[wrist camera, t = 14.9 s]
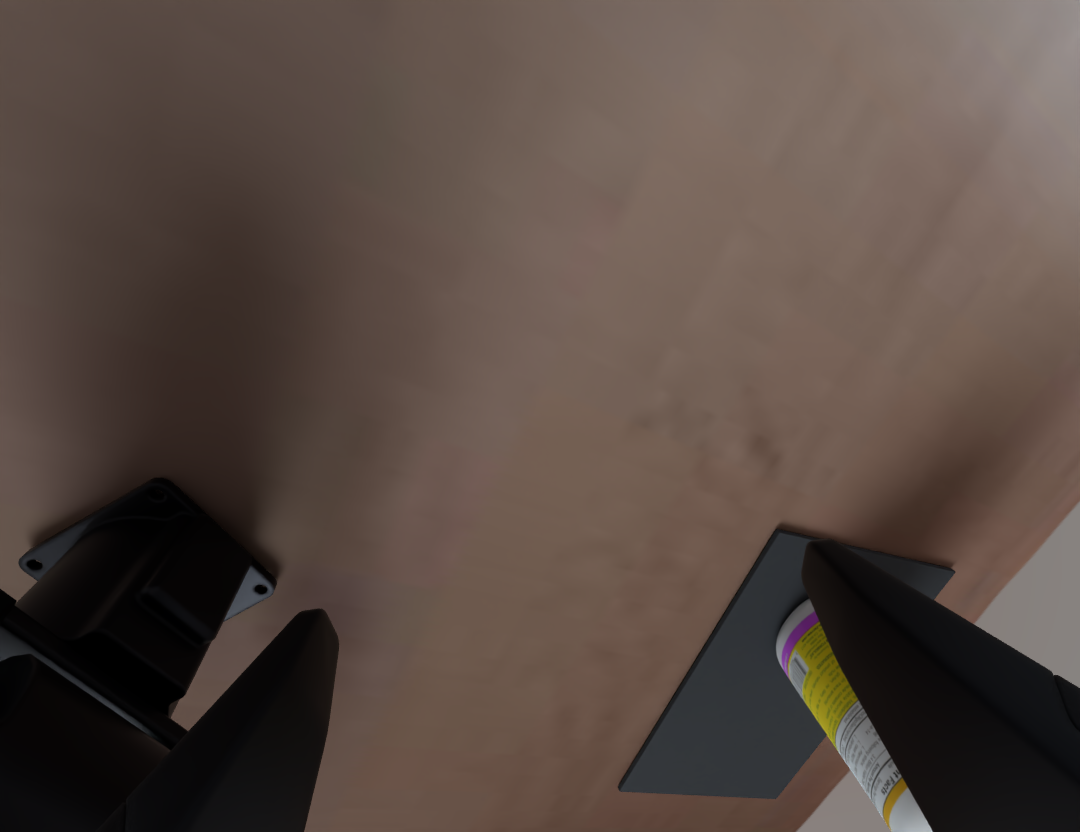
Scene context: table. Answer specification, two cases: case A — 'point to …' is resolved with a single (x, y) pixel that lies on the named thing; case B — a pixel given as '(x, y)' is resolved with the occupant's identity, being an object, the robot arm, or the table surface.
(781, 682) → the desk mat
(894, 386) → the table surface
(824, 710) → the supplement bottle
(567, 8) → the table surface
